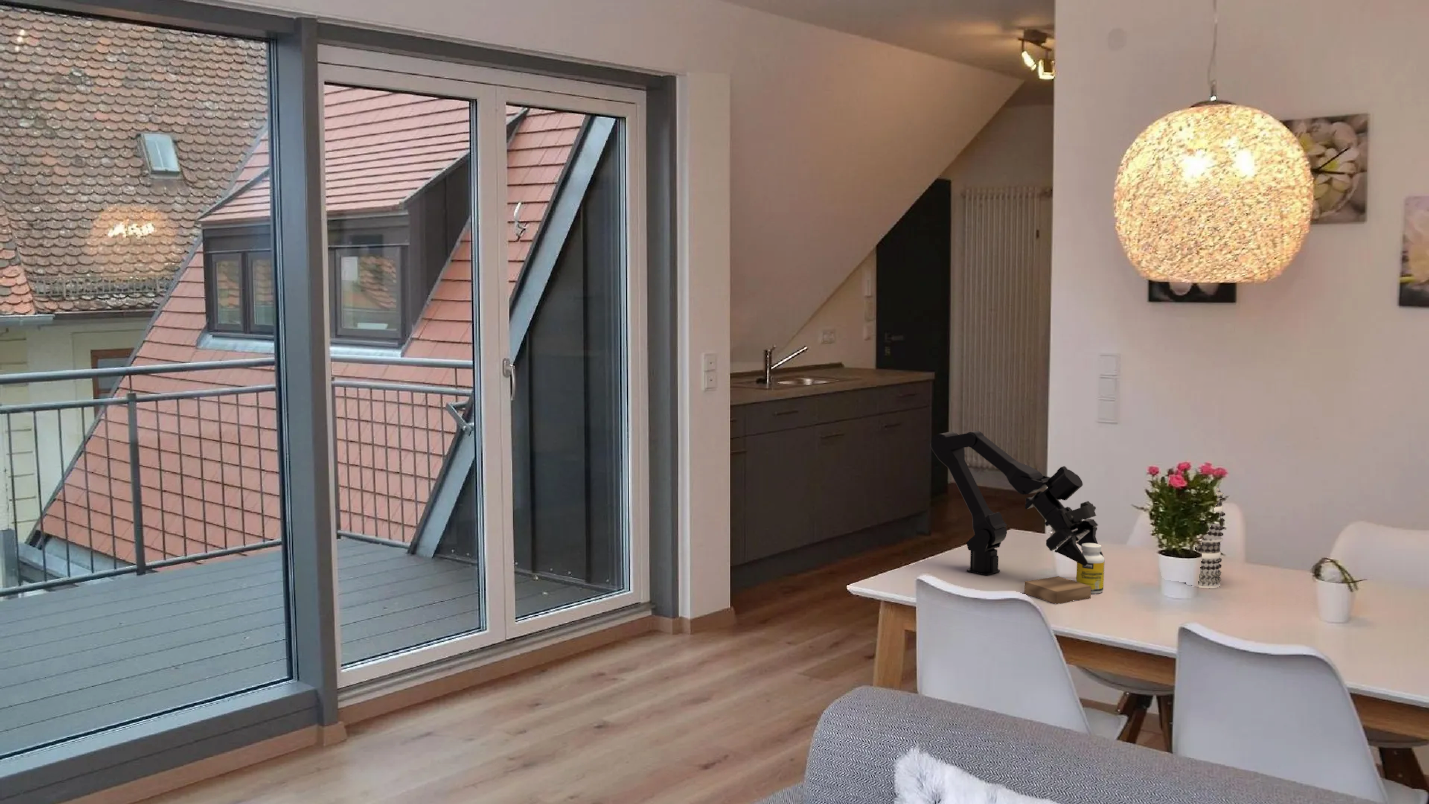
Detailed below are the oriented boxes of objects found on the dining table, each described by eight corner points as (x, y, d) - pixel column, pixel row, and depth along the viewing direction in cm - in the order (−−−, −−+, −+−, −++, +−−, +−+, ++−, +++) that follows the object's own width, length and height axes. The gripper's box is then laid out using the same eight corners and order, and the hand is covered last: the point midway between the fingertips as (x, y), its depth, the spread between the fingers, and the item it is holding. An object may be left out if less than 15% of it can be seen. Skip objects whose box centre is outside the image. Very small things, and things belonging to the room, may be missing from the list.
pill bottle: (1073, 592, 296) (1075, 546, 294) (1078, 586, 301) (1080, 541, 300) (1100, 595, 293) (1102, 548, 291) (1105, 589, 298) (1107, 543, 297)
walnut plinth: (1024, 593, 295) (1024, 581, 294) (1057, 588, 300) (1058, 576, 300) (1056, 604, 285) (1057, 591, 285) (1090, 598, 290) (1091, 586, 290)
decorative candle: (1192, 589, 299) (1196, 489, 297) (1176, 579, 308) (1181, 483, 306) (1228, 588, 299) (1233, 489, 297) (1212, 579, 309) (1216, 483, 306)
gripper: (1059, 497, 290) (1102, 548, 284) (1091, 487, 304) (1132, 535, 298) (1028, 524, 296) (1069, 575, 290) (1061, 513, 310) (1101, 562, 304)
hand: (1094, 561), depth 296 cm, fingers open, 9 cm apart
